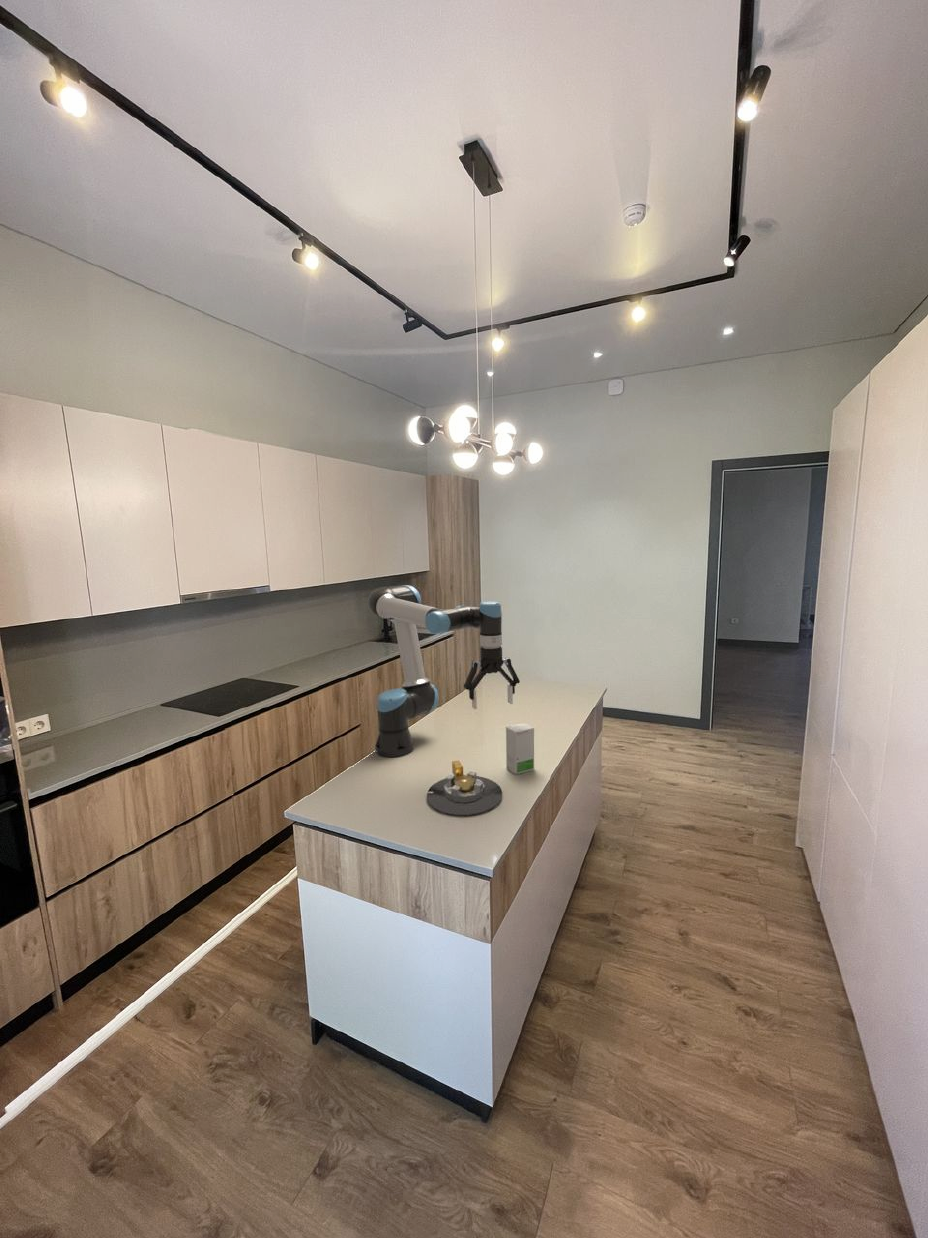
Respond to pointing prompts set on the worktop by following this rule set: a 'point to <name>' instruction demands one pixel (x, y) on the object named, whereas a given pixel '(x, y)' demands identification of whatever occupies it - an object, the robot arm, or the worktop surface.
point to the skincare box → (520, 748)
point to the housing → (461, 809)
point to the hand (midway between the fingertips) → (492, 705)
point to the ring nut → (455, 791)
